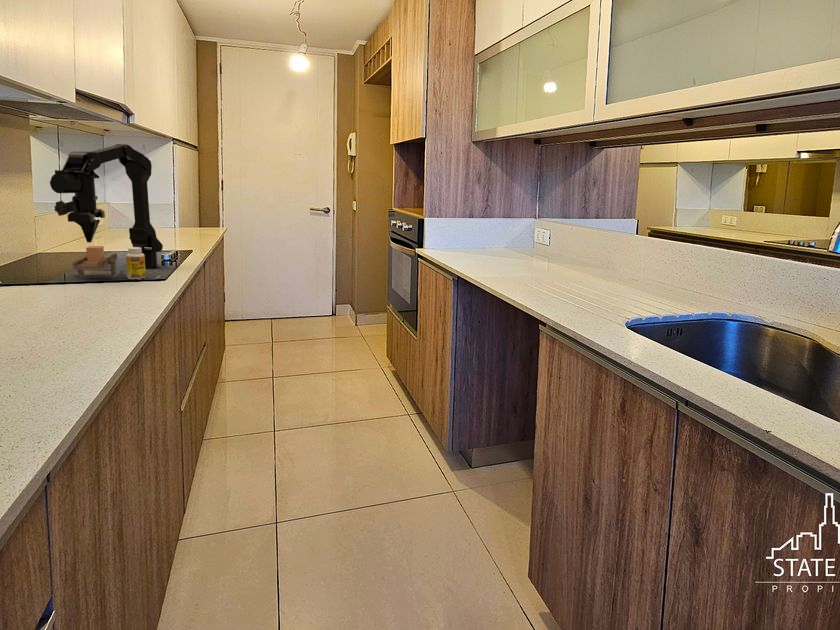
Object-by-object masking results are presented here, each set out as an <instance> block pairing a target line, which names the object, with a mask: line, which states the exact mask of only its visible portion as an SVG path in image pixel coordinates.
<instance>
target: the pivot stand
mask: <svg viewBox="0 0 840 630" xmlns="http://www.w3.org/2000/svg"><path fill="white" fill-rule="evenodd" d="M109 265H110V266H109V267H110V270H85V269H76V270H77V272H76V273H75V274H73V278H74V279H76V278H77V279H78V278H79V279H110V278H111V279H115V278H117V276H119V275H121V270H117V261H116V260H115V261H110V264H109Z"/></svg>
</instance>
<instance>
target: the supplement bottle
mask: <svg viewBox="0 0 840 630" xmlns="http://www.w3.org/2000/svg"><path fill="white" fill-rule="evenodd" d="M127 248H128V249H127V250H128V253H127V254H126V255H125V258H126V259H125V260H126V276H127V278H128V279H129V280H134V279H137V280H142V279H141V278H144V279H145V278H147V277H146V268H145V255H144V254H143V253H142V249H141V248H140V247H133V246H131V247H127Z"/></svg>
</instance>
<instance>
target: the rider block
mask: <svg viewBox="0 0 840 630" xmlns="http://www.w3.org/2000/svg"><path fill="white" fill-rule="evenodd" d="M104 248H105V247H104V245H90V246H87V247H86V248H85V250H86V255H87V261H94V262H99V261H101V260H103V259H104V256H105V249H104Z"/></svg>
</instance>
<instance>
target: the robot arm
mask: <svg viewBox="0 0 840 630" xmlns="http://www.w3.org/2000/svg"><path fill="white" fill-rule="evenodd" d="M114 160H118V161H119V163H120V164H121V165H122V167H124V169H125V175H126V176H127V177H128V179H129V180H130V181H131V189H132V190H131V191H132V202H133V203H132V204H133V214H134V215H133V217H134V223H133V226H132V227H129V229H128V232H129V240H130V242H131V245H132V247H140V248H141V249H142V253H143V254H144V255H145V269H158V268H159V267H161V265H160V264H158V253H157V252H159V253H160V252H162V251H163V248H164V245H163V244H162V242H161V241H160V239H158V238H157V233H156V229H155V228H154V227H153V225H152V223H151V218H150V203H149V190H148V181H149V180H150V177H151V176H152V167H153V166H152V161H151V160H150V159H149V158H148V157H147V156H146V155H144V154H143V153H141V152H140V151H139V150H137V149H135V148H133V147H132V146H131V145H129V144H126V143H125V144H124V143H121V144H120V143H117V144H114V145H111V146H108V147H107V146H106V147H103V148H100V149H96V150H92V151H86V150H85V151H83V150H82V151H80V150H79V151H70V152H69V154H68V157H67V159H66V160H65V163H64V165H63V167H62V169H54V174H53V175H52V176H51V178H50V180H49V185H50V187H51V188H50V189H52V191H53V192H54V193H56V194H74V195H72V197H71V201H68V202H65V201H63V200H59V201H55V206H54V211H55V212H57V214H58V216H59V217H61V216H65V215H67V222H69V223H70V222H71V223H72V222H73V223H76V224H77V225H78V226H80V228H81V230H82V232H83V235H84V237H85V240H86V242H87V243H92V242H93V239H94V236H95V234H96V231H97V229H98V227H99V224H100V222H101V219H104V218H106V213H105V211H104V210H103V209H102V208H97V200H98V196H97V195H96V184H95V179H100V176H99V175H98V174H97V173H96V171H95V170H96V169H98V168H100V167H101V165H102V164H104V163H107V162H108V163H109V162H112V161H114ZM96 218H101V219H96Z"/></svg>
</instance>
